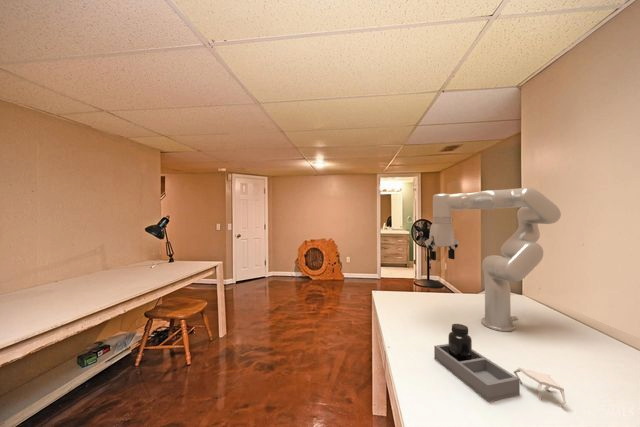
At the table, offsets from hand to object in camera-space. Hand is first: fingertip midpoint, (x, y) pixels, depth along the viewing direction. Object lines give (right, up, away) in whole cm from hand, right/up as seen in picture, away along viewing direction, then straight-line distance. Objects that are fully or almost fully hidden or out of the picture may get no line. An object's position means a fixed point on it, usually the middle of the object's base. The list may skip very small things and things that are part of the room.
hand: (442, 259), depth 113 cm
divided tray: (-7, -30, -34) cm, 46 cm away
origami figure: (+7, -31, -41) cm, 52 cm away
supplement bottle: (-8, -29, -29) cm, 42 cm away
